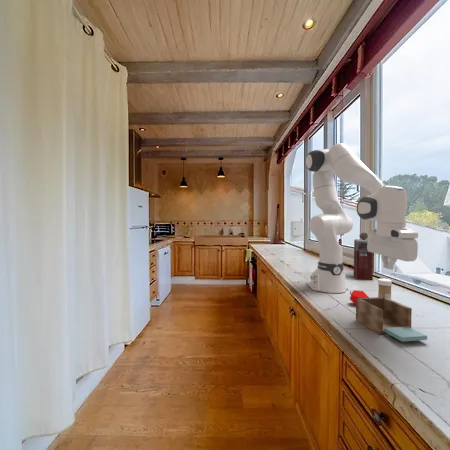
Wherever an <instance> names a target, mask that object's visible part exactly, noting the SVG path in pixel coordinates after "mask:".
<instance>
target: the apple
mask: <svg viewBox="0 0 450 450" xmlns="http://www.w3.org/2000/svg"><path fill="white" fill-rule="evenodd" d="M349 295H350V296H349V300H350V301H351V303H353V304H354V305H355V306H356V298H370V297H369V295H368V294H367V293H365V291H364V290H356V289H355V290H354V289H353V290H352V291H350V292H349Z"/></svg>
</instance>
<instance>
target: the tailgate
mask: <svg viewBox="0 0 450 450" xmlns="http://www.w3.org/2000/svg"><path fill="white" fill-rule="evenodd" d="M384 332H386V333H387V334H386V335H390V336H391V337H393V338H395V339H396V340H398V341H400V342H415V341H427V340H428V335H427V334H424V333H422V332H421V331H419V330H416V329H414V328H412V327H411V328H410V327H408V326H407V327H392V328H384Z"/></svg>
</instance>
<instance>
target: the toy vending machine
mask: <svg viewBox="0 0 450 450" xmlns="http://www.w3.org/2000/svg"><path fill="white" fill-rule="evenodd" d="M358 236H359V238H360V239H358V238H357V239H354V240H353V278H354V279H355V280H358V281H359V280H360V281H363V280H364V281H374V253H372V252H369V251H368V250H367V243H368V238H369V235H368V233H366V232H363V231H362V232H360V234H359V235H358Z"/></svg>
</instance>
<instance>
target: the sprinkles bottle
mask: <svg viewBox="0 0 450 450" xmlns="http://www.w3.org/2000/svg"><path fill="white" fill-rule="evenodd" d="M392 283H393V282H392V280H391V279H388V278H378V279H377V284H378V291H377V297H386V298H388V299H391V300H392V286H393V284H392Z"/></svg>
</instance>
